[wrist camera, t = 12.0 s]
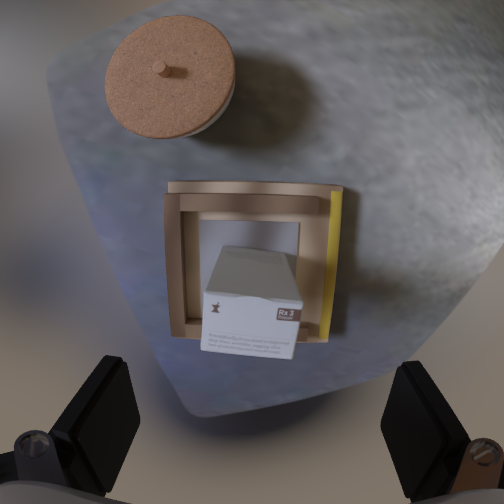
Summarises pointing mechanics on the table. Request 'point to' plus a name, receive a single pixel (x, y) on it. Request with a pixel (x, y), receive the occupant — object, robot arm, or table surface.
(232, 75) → the lidded jar
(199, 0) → the table surface
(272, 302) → the skincare box
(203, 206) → the frame
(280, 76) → the table surface
